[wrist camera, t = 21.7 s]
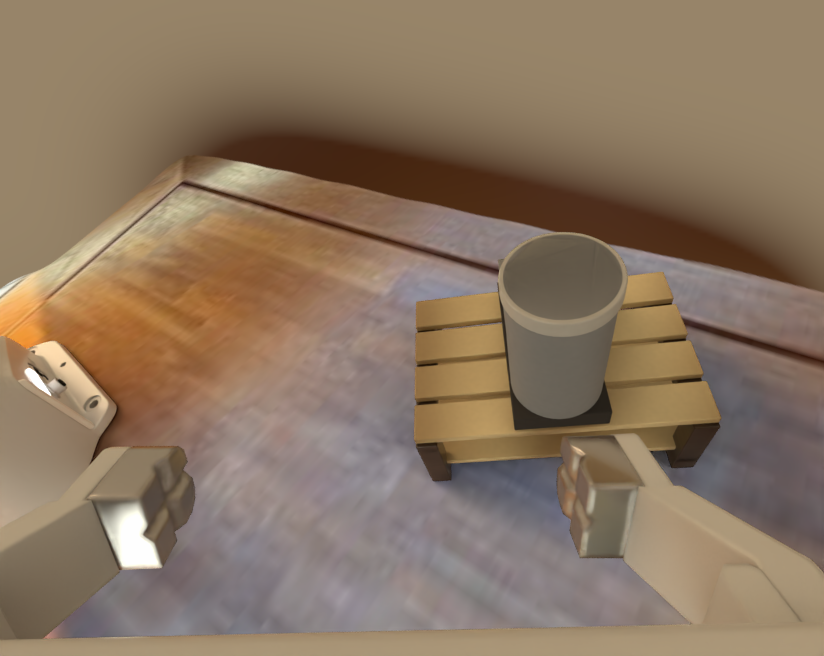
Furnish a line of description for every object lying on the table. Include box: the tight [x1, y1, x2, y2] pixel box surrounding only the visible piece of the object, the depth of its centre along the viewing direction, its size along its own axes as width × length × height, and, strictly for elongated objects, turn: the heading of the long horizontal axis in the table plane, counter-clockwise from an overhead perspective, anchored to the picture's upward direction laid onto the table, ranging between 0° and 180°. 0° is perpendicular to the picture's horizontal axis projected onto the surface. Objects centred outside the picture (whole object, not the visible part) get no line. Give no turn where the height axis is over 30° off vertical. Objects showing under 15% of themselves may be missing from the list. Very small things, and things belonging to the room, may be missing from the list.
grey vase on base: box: [497, 232, 628, 430], centre depth 28 cm, size 11×6×11 cm, turn 179°
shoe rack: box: [414, 272, 721, 481], centre depth 36 cm, size 18×12×7 cm, turn 89°
